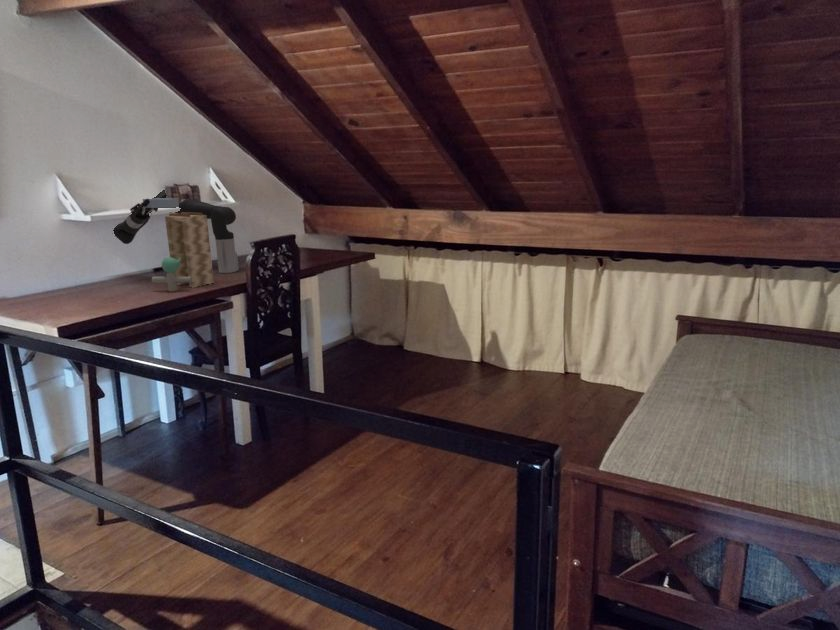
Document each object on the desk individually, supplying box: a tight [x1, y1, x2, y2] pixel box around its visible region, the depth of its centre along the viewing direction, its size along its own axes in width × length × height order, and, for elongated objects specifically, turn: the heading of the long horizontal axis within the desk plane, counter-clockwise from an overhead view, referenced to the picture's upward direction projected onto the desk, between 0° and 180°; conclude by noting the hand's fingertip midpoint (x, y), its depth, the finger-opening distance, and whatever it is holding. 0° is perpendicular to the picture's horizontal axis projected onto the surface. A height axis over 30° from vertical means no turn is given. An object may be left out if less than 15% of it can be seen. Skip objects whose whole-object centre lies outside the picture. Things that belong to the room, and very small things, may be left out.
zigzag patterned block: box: [164, 212, 215, 289], centre depth 289 cm, size 12×14×33 cm
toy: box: [151, 256, 192, 292], centre depth 278 cm, size 18×7×15 cm, turn 84°
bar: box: [142, 197, 180, 208], centre depth 292 cm, size 4×22×4 cm, turn 56°
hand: (152, 200), depth 295 cm, fingers closed on bar, 4 cm apart
